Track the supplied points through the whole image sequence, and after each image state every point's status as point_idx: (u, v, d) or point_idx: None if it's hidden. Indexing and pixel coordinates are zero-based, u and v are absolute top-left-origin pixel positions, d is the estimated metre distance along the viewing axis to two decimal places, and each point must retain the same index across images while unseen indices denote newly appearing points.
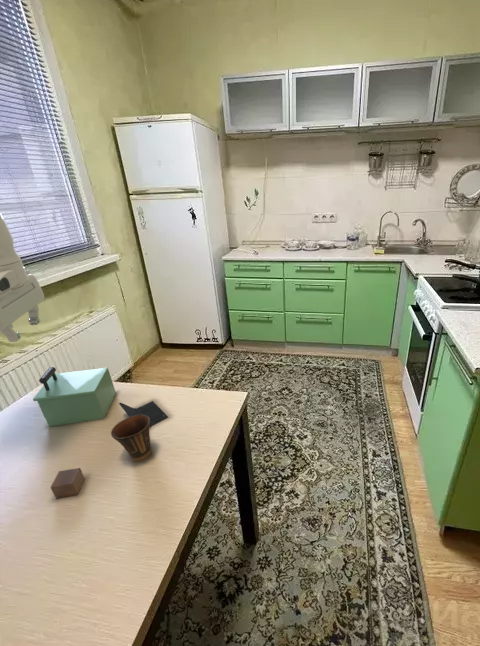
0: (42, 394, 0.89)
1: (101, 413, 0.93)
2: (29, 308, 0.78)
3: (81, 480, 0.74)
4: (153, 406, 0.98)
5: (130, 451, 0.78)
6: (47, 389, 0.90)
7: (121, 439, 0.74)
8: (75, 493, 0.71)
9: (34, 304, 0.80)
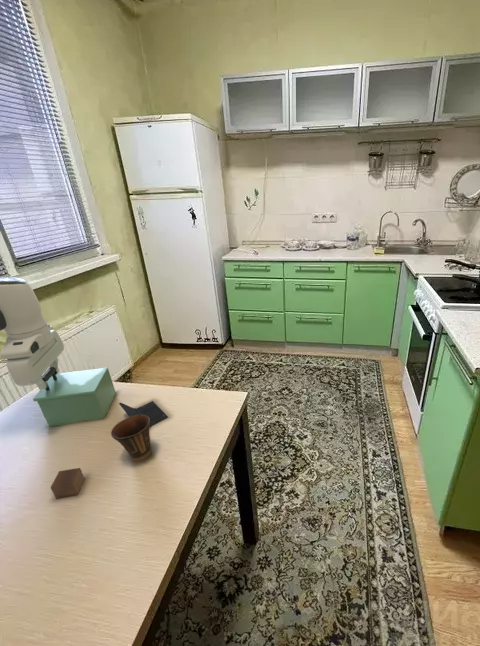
0: (42, 394, 0.89)
1: (101, 413, 0.93)
2: (52, 360, 0.91)
3: (81, 480, 0.74)
4: (153, 406, 0.98)
5: (130, 451, 0.78)
6: (47, 389, 0.90)
7: (121, 439, 0.74)
8: (75, 493, 0.71)
9: (56, 356, 0.94)
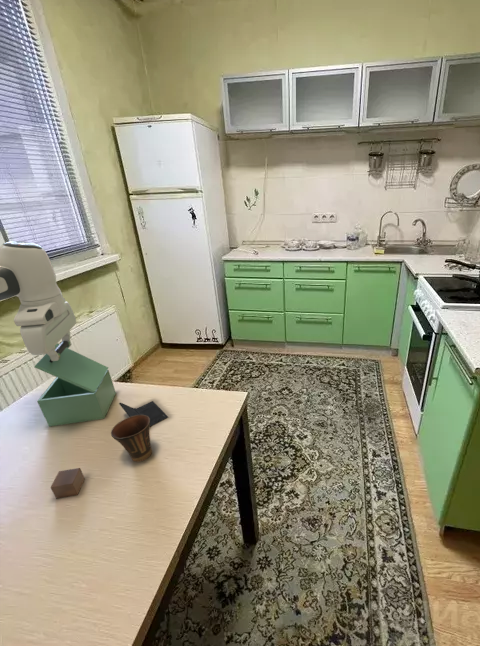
0: (45, 365, 0.85)
1: (101, 413, 0.93)
2: (65, 332, 0.89)
3: (81, 480, 0.74)
4: (153, 406, 0.98)
5: (130, 451, 0.78)
6: (51, 361, 0.87)
7: (121, 439, 0.74)
8: (75, 493, 0.71)
9: (69, 328, 0.91)
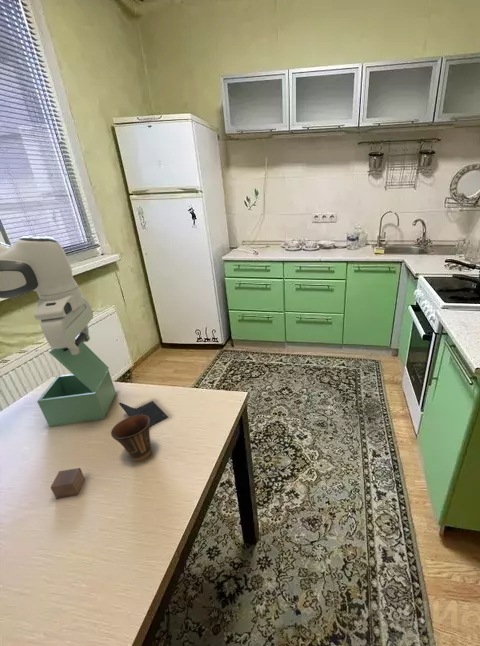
0: (59, 353, 0.84)
1: (101, 413, 0.93)
2: (84, 326, 0.89)
3: (81, 480, 0.74)
4: (153, 406, 0.98)
5: (130, 451, 0.78)
6: (65, 350, 0.86)
7: (121, 439, 0.74)
8: (75, 493, 0.71)
9: (87, 322, 0.91)
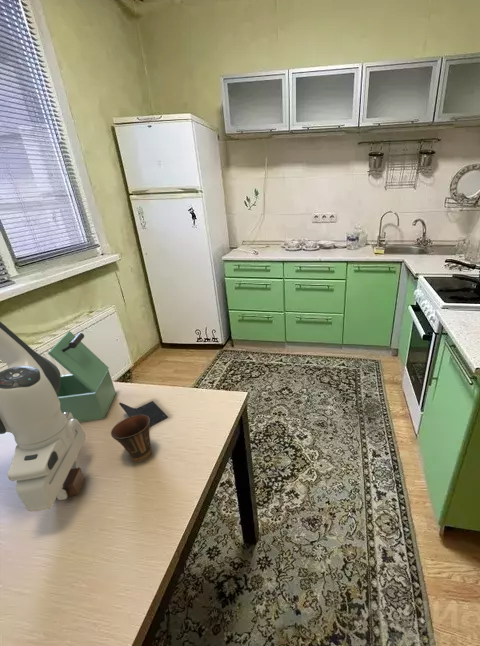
0: (58, 353, 0.84)
1: (101, 413, 0.93)
2: (73, 461, 0.72)
3: (81, 480, 0.74)
4: (153, 406, 0.98)
5: (130, 451, 0.78)
6: (63, 351, 0.86)
7: (121, 439, 0.74)
8: (75, 493, 0.71)
9: (77, 453, 0.74)
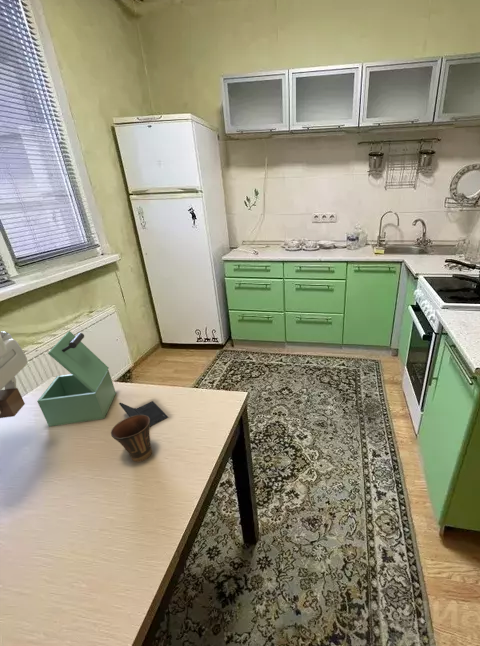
0: (58, 353, 0.84)
1: (101, 413, 0.93)
2: (8, 379, 0.70)
3: (19, 401, 0.72)
4: (153, 406, 0.98)
5: (130, 451, 0.78)
6: (63, 351, 0.86)
7: (121, 439, 0.74)
8: (10, 411, 0.69)
9: (15, 373, 0.72)
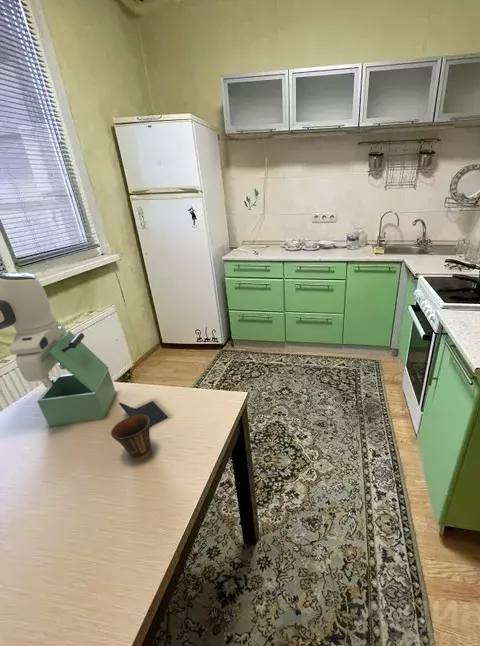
0: (58, 353, 0.84)
1: (101, 413, 0.93)
2: None
3: None
4: (153, 406, 0.98)
5: (130, 451, 0.78)
6: (63, 351, 0.86)
7: (121, 439, 0.74)
8: None
9: None
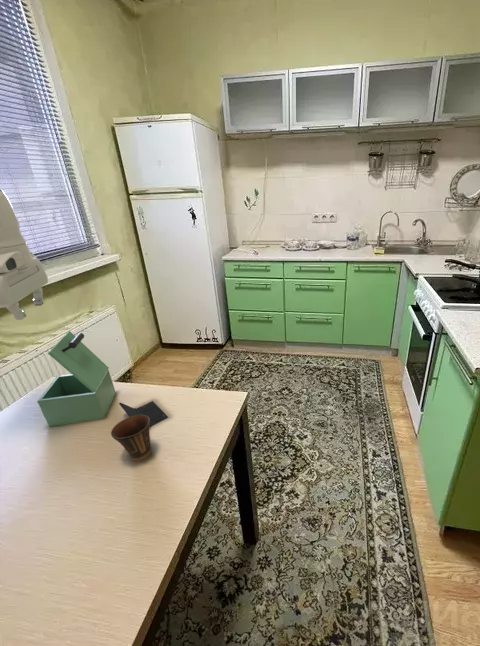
0: (58, 353, 0.84)
1: (101, 413, 0.93)
2: (34, 289, 0.82)
3: None
4: (153, 406, 0.98)
5: (130, 451, 0.78)
6: (63, 351, 0.86)
7: (121, 439, 0.74)
8: None
9: (38, 286, 0.85)
